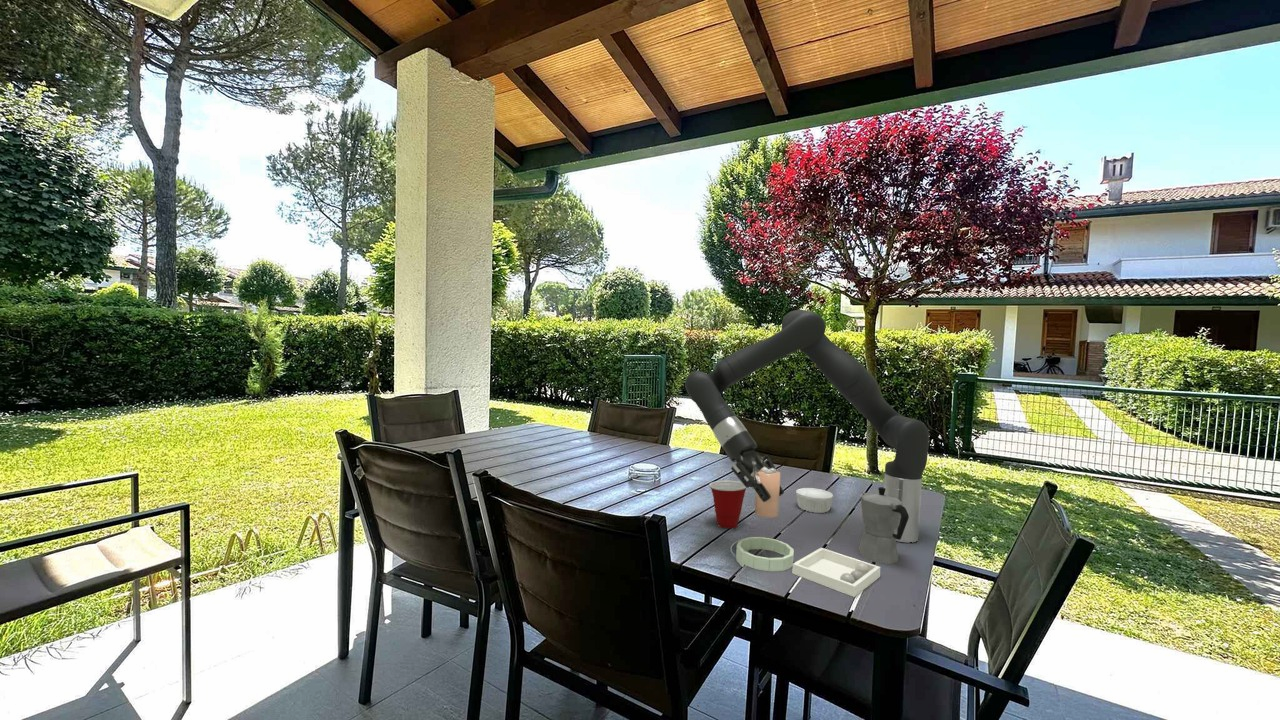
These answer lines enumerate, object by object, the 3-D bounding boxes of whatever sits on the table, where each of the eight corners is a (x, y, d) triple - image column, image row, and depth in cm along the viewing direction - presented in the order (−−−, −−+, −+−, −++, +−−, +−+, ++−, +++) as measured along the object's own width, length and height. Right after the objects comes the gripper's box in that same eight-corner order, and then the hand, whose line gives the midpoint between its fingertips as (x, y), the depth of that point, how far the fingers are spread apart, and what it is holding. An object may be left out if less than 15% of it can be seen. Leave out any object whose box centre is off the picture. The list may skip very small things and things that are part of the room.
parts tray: (820, 559, 127) (821, 544, 127) (879, 580, 117) (880, 563, 117) (792, 576, 117) (792, 560, 117) (854, 600, 107) (855, 582, 107)
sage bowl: (741, 547, 133) (742, 533, 133) (794, 556, 128) (795, 542, 128) (732, 567, 121) (733, 553, 120) (790, 578, 116) (791, 563, 116)
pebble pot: (756, 508, 127) (758, 464, 127) (779, 511, 126) (781, 467, 125) (753, 515, 122) (755, 469, 122) (777, 518, 121) (779, 472, 120)
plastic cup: (719, 515, 156) (721, 476, 156) (752, 524, 149) (754, 483, 149) (700, 524, 148) (701, 483, 147) (733, 535, 141) (735, 491, 140)
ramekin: (789, 503, 171) (790, 487, 171) (822, 503, 172) (823, 487, 172) (804, 514, 160) (804, 498, 160) (838, 514, 161) (839, 498, 161)
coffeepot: (844, 549, 134) (848, 480, 133) (875, 547, 136) (879, 479, 135) (886, 576, 119) (891, 499, 118) (920, 573, 121) (925, 497, 121)
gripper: (726, 432, 123) (768, 494, 115) (759, 426, 133) (800, 483, 126) (707, 450, 127) (747, 512, 119) (741, 443, 137) (779, 499, 130)
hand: (774, 497), depth 123 cm, fingers closed on pebble pot, 5 cm apart
